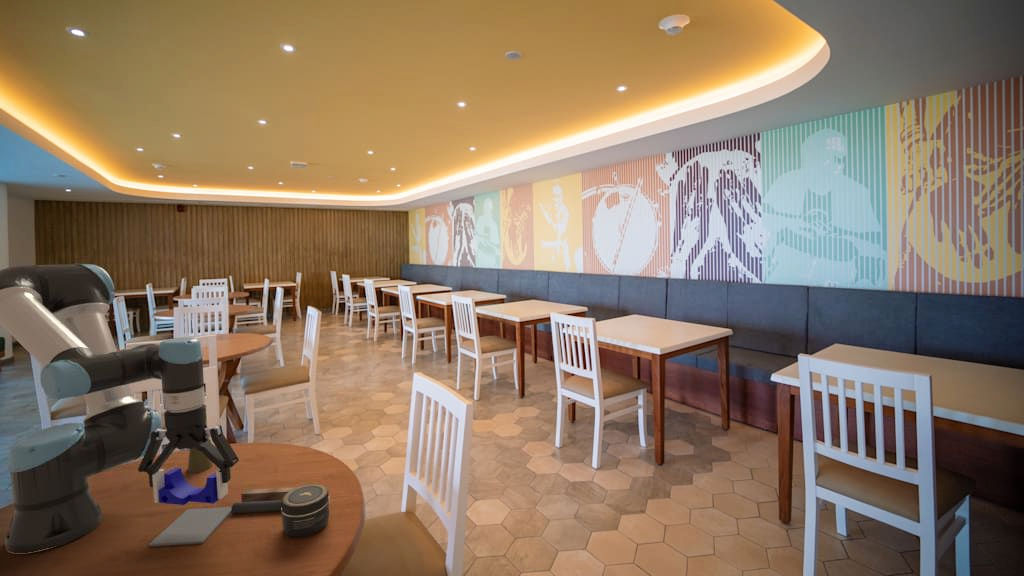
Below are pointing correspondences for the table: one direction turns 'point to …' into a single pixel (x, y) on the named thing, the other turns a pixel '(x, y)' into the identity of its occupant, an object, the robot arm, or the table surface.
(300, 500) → the jar
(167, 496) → the cable clip
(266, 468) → the table surface
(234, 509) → the rod
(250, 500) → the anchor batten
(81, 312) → the robot arm
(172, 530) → the mat
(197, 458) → the cork
